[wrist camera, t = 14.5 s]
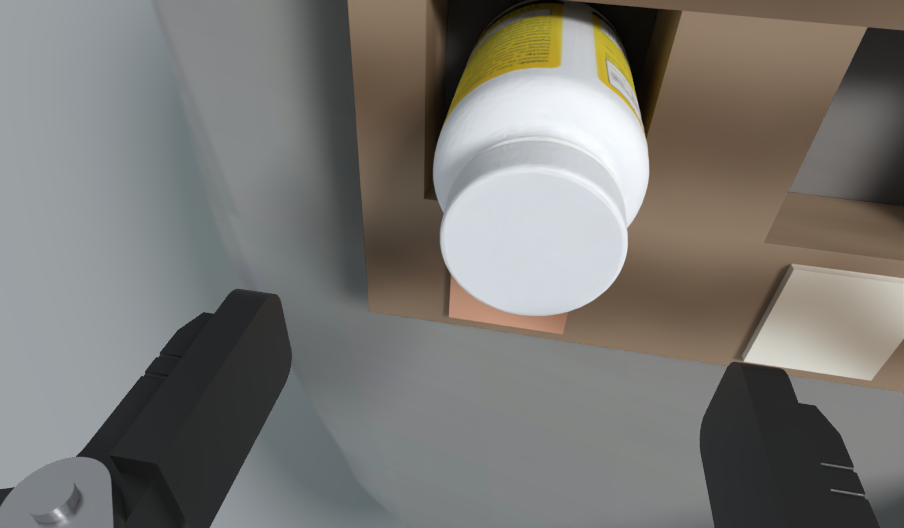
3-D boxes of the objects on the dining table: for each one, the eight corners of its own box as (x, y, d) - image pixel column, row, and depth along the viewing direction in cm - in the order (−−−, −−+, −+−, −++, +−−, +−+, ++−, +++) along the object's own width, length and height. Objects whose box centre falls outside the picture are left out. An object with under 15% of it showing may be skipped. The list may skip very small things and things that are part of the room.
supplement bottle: (448, 118, 21) (379, 291, 14) (502, -35, 18) (448, 84, 10) (583, 170, 21) (589, 366, 14) (661, 30, 18) (724, 191, 10)
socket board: (911, 332, 23) (959, 407, 21) (390, 258, 26) (367, 316, 23) (1211, -50, 15) (1370, -14, 12) (378, -110, 17) (336, -92, 14)
